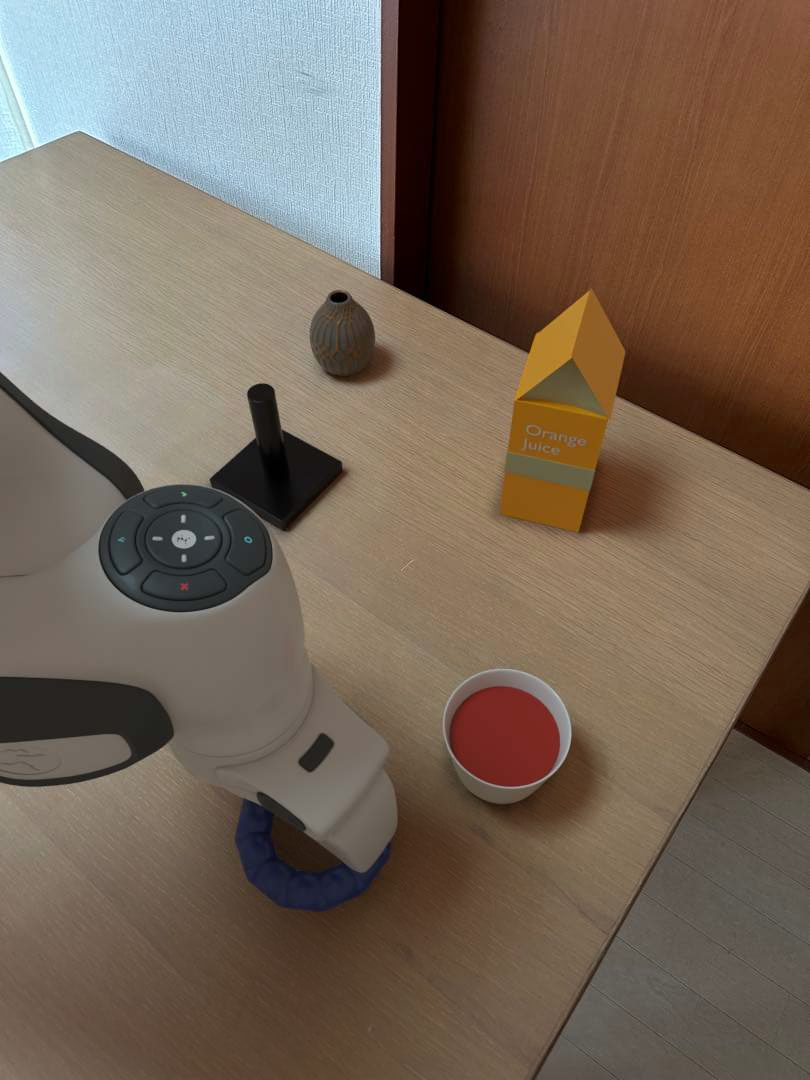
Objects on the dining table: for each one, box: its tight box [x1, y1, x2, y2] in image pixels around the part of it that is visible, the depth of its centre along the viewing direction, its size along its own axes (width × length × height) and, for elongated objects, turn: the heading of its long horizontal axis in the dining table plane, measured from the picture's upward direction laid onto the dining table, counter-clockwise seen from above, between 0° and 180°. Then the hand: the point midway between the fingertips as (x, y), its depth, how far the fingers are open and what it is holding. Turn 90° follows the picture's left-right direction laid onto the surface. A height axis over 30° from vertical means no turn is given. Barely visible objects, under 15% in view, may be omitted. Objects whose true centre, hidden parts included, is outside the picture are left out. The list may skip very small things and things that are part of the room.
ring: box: [234, 798, 393, 913], centre depth 58 cm, size 11×11×2 cm
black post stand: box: [209, 382, 344, 532], centre depth 76 cm, size 9×9×12 cm
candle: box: [442, 668, 572, 805], centre depth 61 cm, size 9×9×6 cm
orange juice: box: [499, 287, 626, 533], centre depth 72 cm, size 8×9×20 cm
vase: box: [308, 289, 376, 377], centre depth 87 cm, size 7×7×9 cm
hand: (269, 791), depth 59 cm, fingers closed on ring, 2 cm apart
